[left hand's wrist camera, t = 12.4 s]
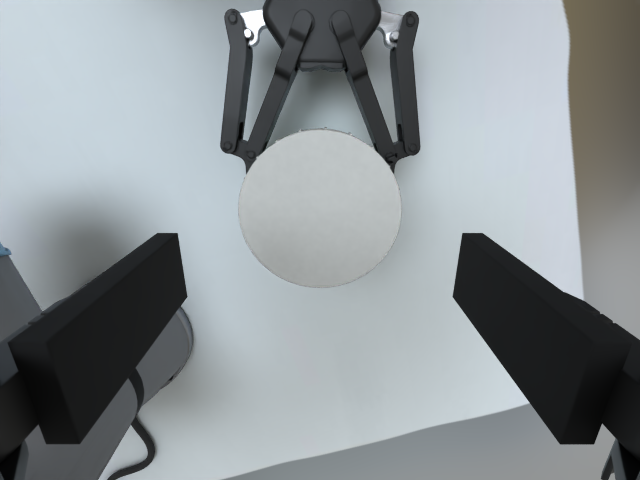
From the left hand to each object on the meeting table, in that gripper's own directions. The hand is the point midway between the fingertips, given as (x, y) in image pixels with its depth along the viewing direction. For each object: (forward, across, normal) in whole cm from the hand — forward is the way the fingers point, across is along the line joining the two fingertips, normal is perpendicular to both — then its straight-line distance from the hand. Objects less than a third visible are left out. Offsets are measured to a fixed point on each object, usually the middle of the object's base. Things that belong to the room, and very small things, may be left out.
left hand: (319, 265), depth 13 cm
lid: (+7, 0, 0) cm, 7 cm away
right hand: (+17, 0, -5) cm, 17 cm away
